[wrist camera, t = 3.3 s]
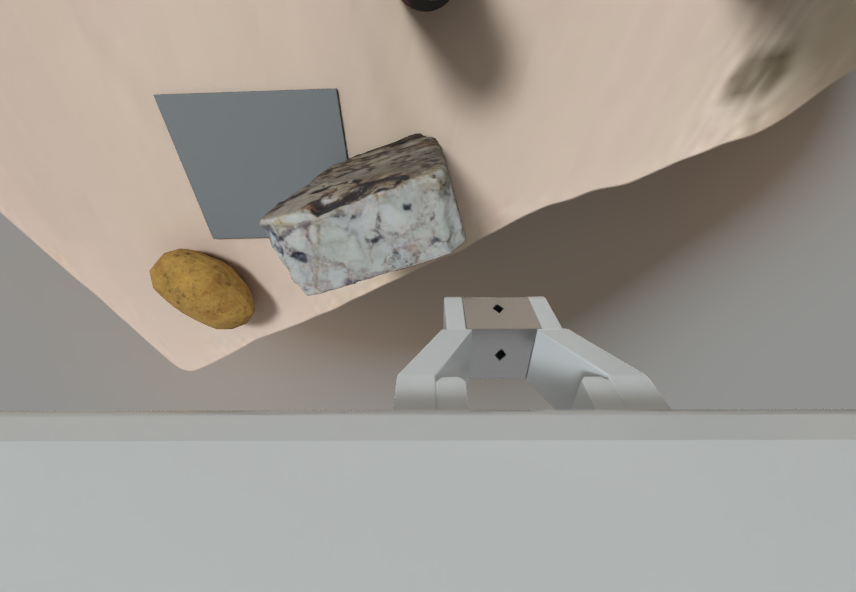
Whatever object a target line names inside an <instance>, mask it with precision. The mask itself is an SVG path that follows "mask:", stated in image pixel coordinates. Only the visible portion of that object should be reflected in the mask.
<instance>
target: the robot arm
mask: <svg viewBox="0 0 856 592" xmlns="http://www.w3.org/2000/svg"><path fill="white" fill-rule="evenodd" d="M443 324H444V325H443V330H441V331H440V332H439V333H438V334H437V335H436V336H435V337H434V338H433V339H432V340H431V341H430V343H428V345H426V346H425V348H424V349H423V350H422V351H421V352H420V353H419V354H418V355H417V356H416V357H415V358H414V359H413V360H412V361H411V362H410V363H409V364H408V365H407V366H406V367H405V368H404V369H403V370H402V371H401V373H399V375H398V376H397V383H396V391H395V399H394V409H393V410H291V411H290V410H283V411H282V410H274V411H270V410H265V411H263V410H258V411H256V410H255V411H254V410H252V411H13V410H12V411H10V410H9V411H8V410H1V411H0V592H856V409H730V410H729V409H711V410H710V409H705V410H703V409H696V410H695V409H693V410H692V409H690V410H689V409H686V410H683V409H682V410H681V409H680V410H675V409H674V410H673V409H671V408H670V406H669V405H668V404H667V402H666V401H665V400H664V398H663V397H662V395H661V394H660V393H659V391H658V390H657V389H656V387H655V386H654V385H653V384H652V382H651V381H650V379H649V378H648V377H647V375H645V374H643V373H642V372H640V371H638V370H636V369H635V368H633V367H631V366H629V365H628V364H626V363H625V362H623V361H621V360H619V359H618V358H616V357H614V356H613V355H611V354H609V353H608V352H606V351H604V350H602V349H601V348H599V347H597V346H596V345H594V344H592V343H591V342H588V341H587V340H585V339H584V338H582V337H580V336H579V335H577V334H575V333H574V332H572V331H570V330H568V329H562V327H561V325H560V324H559V322H558V320H557V318H556V316H555V315H554V313H553V311H552V309H551V307H550V305H549V304H548V302H547V300H546V298H545V297H543V296H539V297H538V296H537V297H514V298H492V297H491V298H490V297H445V299H444V323H443ZM483 378H512V379H526V380H527V381H528V382H529V383H530V384H531V385H532V386H533V387H534V388H535V389H536V390H537V391H538V393H539V394H541V395H542V396H543V397H544V399H546V401H547V402H548V403H549V404H551V406H552V407H553V408H555V410H469V408H468V400H467V393H466V383H467V382H468V379H483Z"/></svg>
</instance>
